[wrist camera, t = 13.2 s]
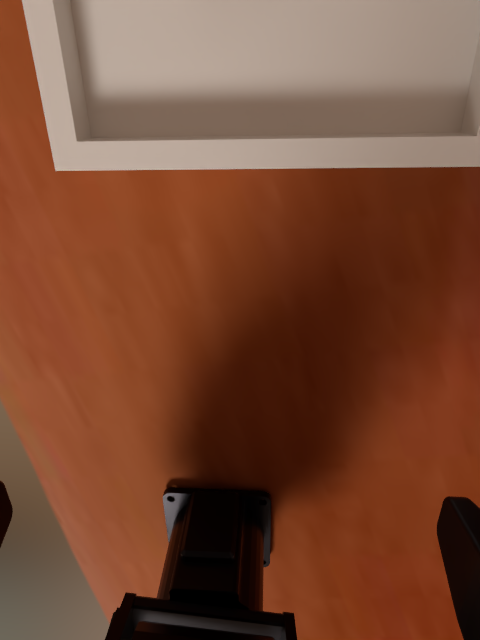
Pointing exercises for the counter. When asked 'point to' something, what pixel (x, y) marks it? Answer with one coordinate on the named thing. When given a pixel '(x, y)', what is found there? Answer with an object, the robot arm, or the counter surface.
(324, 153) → the tray
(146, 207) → the counter surface
